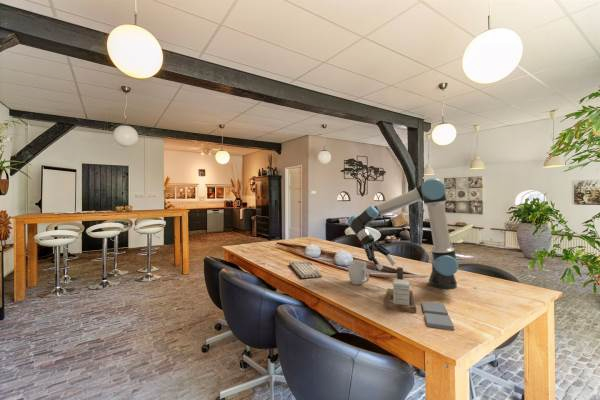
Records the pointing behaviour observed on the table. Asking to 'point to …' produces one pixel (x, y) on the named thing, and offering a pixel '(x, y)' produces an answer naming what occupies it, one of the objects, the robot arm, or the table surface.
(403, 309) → the brown base with post
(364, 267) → the mug
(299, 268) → the mechanical keyboard
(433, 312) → the broken grey strip
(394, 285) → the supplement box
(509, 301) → the table surface
